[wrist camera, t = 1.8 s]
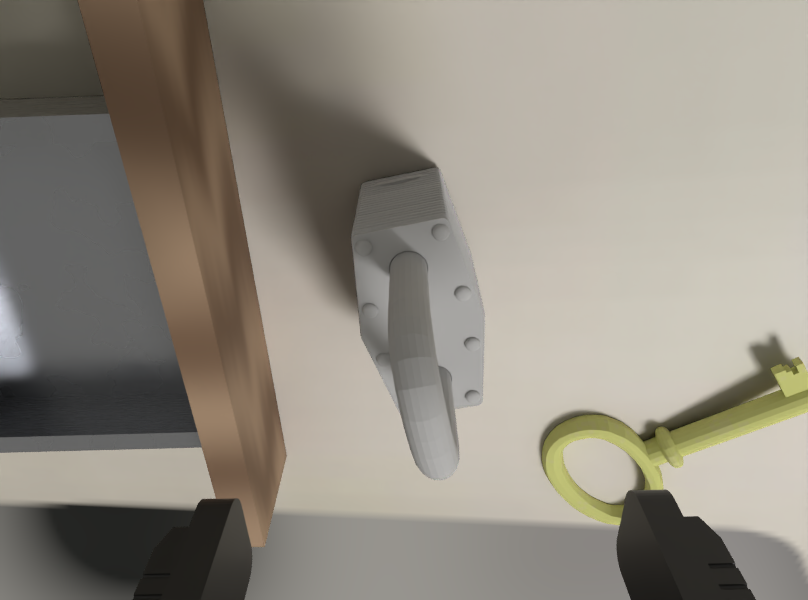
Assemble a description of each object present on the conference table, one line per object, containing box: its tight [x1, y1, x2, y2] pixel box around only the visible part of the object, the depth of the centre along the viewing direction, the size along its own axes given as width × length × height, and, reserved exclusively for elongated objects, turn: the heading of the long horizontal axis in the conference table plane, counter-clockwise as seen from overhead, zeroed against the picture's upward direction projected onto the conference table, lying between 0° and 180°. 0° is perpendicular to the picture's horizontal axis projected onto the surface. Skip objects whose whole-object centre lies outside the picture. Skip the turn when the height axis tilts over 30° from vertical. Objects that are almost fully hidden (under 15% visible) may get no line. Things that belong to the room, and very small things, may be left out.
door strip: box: [78, 0, 287, 547], centre depth 21 cm, size 20×1×5 cm, turn 2°
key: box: [542, 357, 808, 525], centre depth 26 cm, size 7×12×2 cm, turn 144°
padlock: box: [351, 168, 485, 480], centre depth 18 cm, size 7×4×10 cm, turn 12°
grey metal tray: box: [0, 96, 202, 453], centre depth 22 cm, size 13×11×3 cm
